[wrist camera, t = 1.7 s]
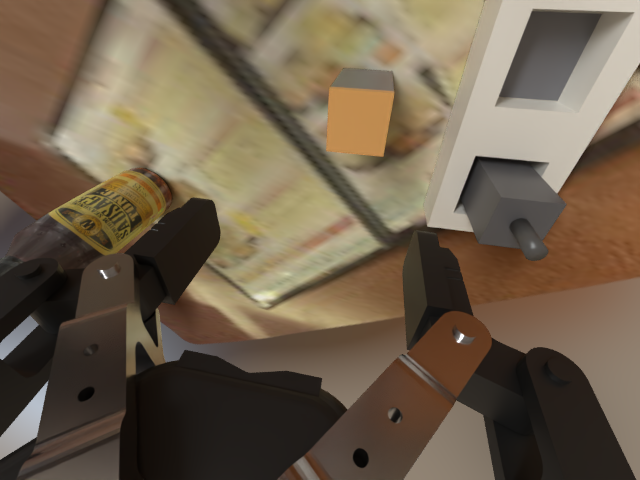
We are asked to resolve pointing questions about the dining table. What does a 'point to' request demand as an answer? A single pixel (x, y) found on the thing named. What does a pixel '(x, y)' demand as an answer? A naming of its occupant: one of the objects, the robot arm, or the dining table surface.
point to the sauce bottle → (93, 222)
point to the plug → (360, 111)
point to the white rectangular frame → (529, 114)
